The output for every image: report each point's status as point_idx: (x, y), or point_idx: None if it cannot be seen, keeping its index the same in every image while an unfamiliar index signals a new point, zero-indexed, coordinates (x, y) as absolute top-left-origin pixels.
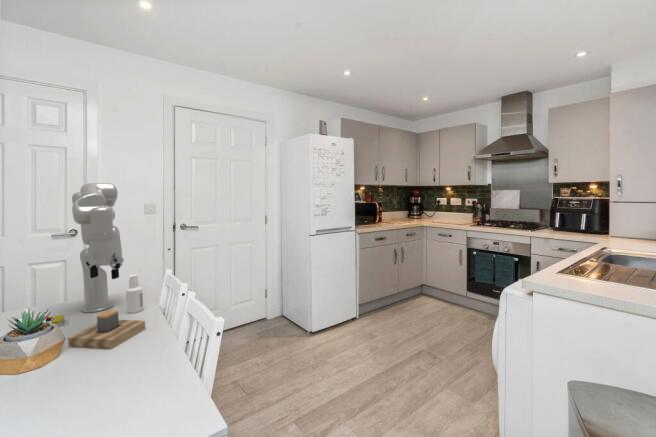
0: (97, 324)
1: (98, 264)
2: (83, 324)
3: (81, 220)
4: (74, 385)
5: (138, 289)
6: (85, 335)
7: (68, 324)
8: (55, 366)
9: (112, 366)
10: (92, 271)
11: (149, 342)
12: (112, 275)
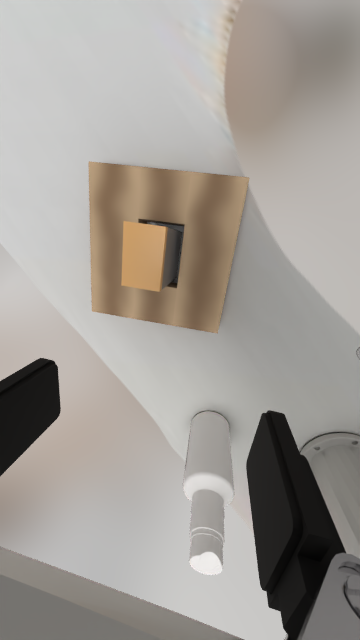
0: (173, 229)
1: (3, 597)
2: (306, 350)
3: None
4: None
5: (186, 483)
6: (197, 197)
7: (357, 353)
8: (186, 31)
9: (19, 50)
10: (279, 486)
11: (34, 215)
12: (12, 376)
